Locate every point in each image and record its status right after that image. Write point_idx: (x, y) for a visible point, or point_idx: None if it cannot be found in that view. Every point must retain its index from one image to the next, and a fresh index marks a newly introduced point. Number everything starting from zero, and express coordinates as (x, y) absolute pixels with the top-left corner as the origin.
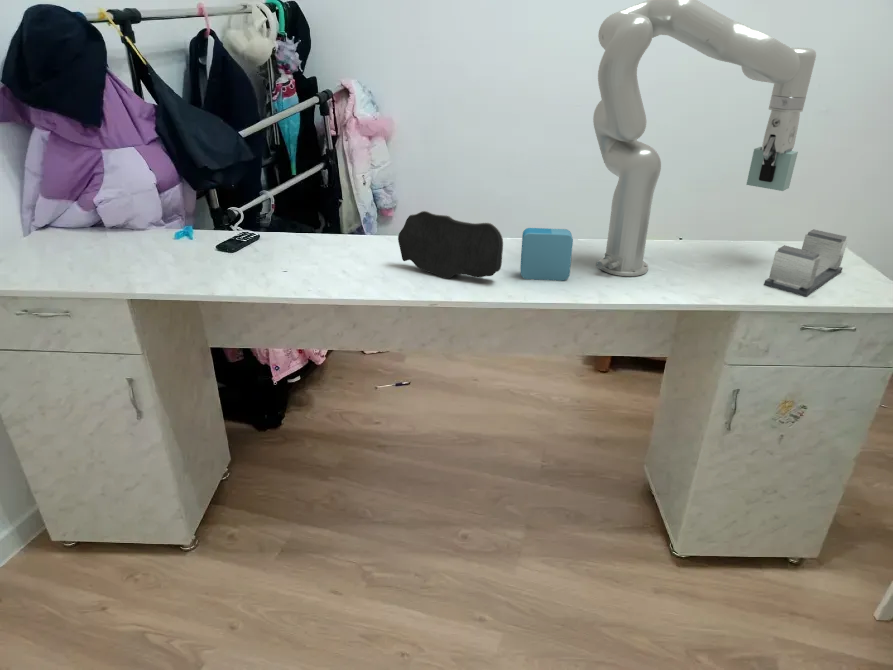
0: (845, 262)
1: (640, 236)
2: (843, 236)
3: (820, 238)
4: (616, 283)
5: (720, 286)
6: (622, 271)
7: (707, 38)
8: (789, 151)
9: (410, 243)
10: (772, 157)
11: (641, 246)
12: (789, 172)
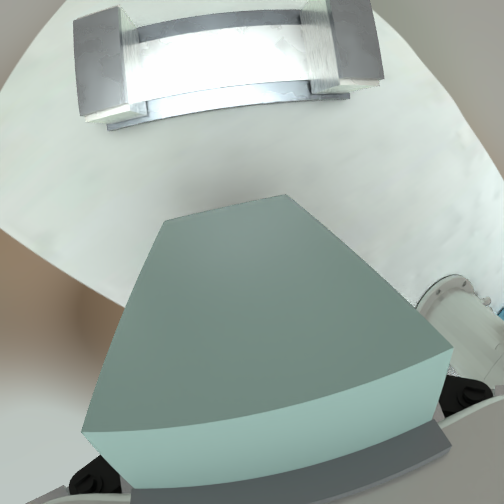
0: (31, 83)
1: (496, 316)
2: (80, 24)
3: (124, 64)
4: (488, 270)
5: (415, 158)
6: (471, 291)
7: None
8: (241, 483)
9: None
10: (478, 397)
11: (479, 307)
12: (255, 245)
